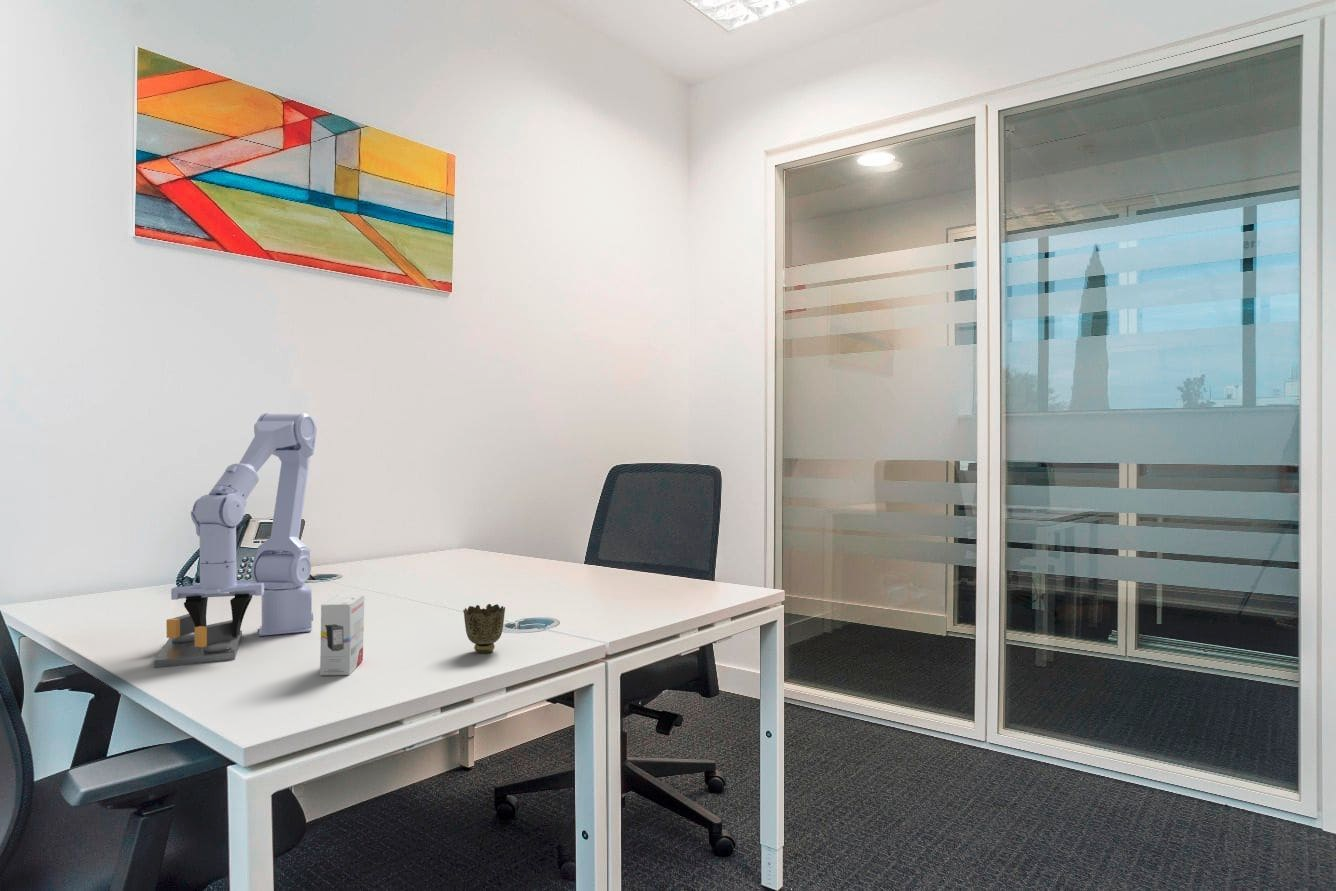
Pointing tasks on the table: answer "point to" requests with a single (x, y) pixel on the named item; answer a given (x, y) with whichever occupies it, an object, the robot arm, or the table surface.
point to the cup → (484, 626)
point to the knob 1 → (181, 629)
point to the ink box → (342, 634)
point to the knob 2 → (214, 636)
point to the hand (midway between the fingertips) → (219, 637)
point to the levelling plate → (192, 653)
